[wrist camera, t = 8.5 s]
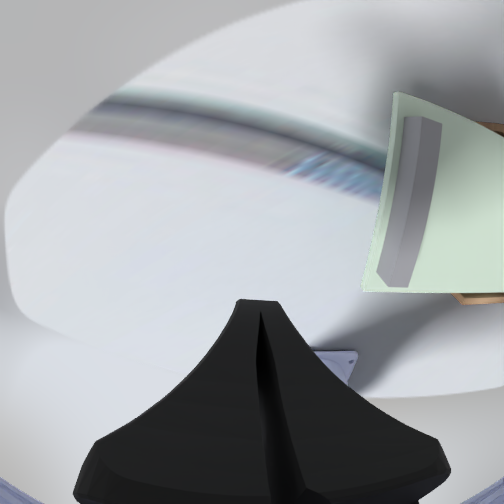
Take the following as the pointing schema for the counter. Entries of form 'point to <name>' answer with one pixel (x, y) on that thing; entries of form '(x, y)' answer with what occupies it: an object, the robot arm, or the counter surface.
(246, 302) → the robot arm
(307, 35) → the counter surface
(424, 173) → the lid
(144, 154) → the counter surface
